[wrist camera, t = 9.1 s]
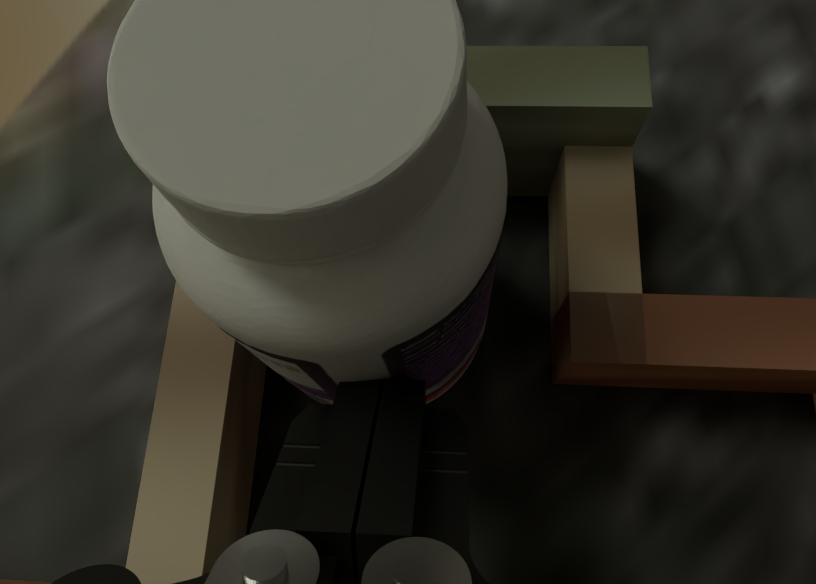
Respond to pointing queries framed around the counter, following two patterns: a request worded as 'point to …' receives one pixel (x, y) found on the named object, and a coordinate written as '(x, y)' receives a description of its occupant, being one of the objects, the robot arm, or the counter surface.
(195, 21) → the pill bottle
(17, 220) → the counter surface
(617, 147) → the trap channel
